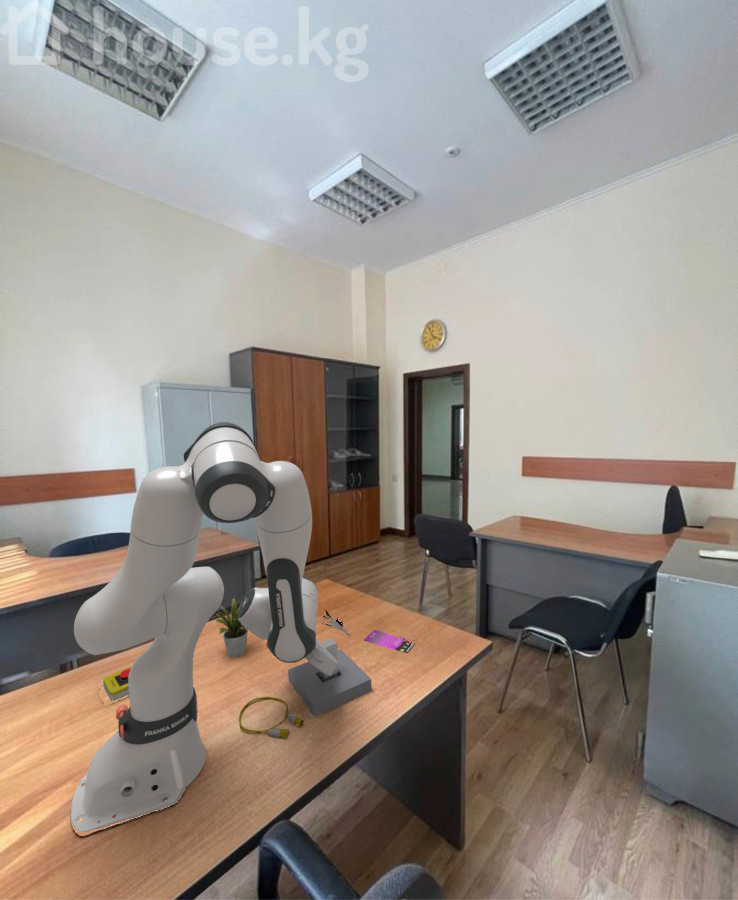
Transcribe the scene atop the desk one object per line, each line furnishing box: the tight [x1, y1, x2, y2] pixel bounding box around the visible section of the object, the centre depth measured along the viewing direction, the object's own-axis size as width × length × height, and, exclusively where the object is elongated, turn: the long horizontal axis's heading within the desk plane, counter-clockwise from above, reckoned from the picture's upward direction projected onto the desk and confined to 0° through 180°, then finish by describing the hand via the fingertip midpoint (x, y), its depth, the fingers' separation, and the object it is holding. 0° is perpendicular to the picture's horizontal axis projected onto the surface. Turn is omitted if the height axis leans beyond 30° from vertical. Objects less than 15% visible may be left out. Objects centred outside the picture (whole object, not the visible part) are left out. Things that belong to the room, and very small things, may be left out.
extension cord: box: [238, 696, 305, 739], centre depth 90 cm, size 12×16×2 cm
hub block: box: [287, 649, 372, 718], centre depth 102 cm, size 16×16×3 cm
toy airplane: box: [320, 609, 350, 636], centre depth 134 cm, size 8×21×2 cm, turn 33°
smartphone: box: [363, 629, 415, 654], centre depth 121 cm, size 7×15×1 cm, turn 59°
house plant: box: [215, 597, 249, 658], centre depth 116 cm, size 14×14×16 cm
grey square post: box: [319, 637, 338, 683], centre depth 101 cm, size 4×3×10 cm
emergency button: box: [102, 666, 132, 701], centre depth 104 cm, size 9×4×15 cm
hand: (330, 659), depth 102 cm, fingers open, 3 cm apart
